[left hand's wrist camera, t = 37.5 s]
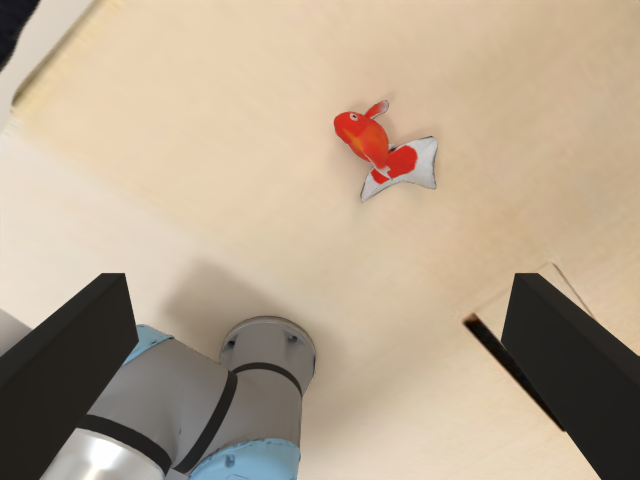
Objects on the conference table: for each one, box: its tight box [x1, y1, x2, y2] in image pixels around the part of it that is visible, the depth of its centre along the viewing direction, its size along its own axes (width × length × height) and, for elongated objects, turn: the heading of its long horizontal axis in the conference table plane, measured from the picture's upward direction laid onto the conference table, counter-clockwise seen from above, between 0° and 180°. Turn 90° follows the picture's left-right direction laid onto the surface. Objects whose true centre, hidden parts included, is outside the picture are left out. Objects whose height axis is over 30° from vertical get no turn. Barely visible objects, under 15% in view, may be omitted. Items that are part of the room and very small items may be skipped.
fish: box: [334, 101, 437, 203], centre depth 45 cm, size 11×16×10 cm
